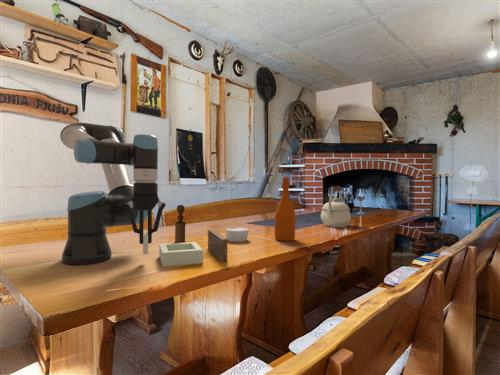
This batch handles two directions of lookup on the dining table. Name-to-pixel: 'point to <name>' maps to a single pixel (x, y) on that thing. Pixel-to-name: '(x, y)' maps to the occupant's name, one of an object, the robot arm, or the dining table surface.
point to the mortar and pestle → (180, 226)
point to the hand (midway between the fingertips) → (145, 253)
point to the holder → (180, 254)
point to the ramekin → (237, 234)
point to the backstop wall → (217, 245)
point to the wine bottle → (285, 216)
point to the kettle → (335, 211)
